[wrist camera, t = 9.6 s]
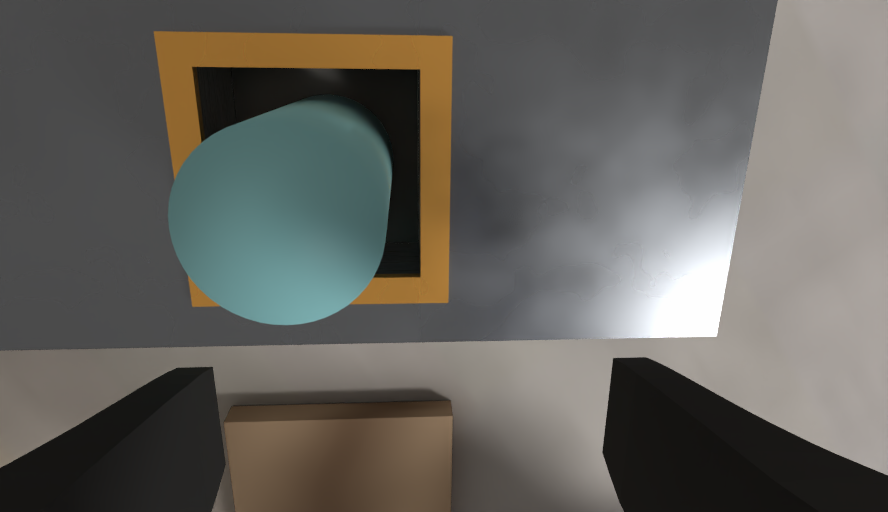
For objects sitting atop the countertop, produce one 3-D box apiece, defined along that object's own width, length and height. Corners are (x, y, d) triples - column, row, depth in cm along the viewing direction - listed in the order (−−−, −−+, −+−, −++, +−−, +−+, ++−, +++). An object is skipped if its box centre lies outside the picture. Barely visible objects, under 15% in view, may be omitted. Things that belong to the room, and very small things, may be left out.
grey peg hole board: (719, -5, 17) (788, -20, 14) (673, 298, 21) (721, 340, 18) (-118, -23, 16) (-246, -43, 13) (-27, 309, 19) (-111, 357, 16)
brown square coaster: (450, 400, 21) (452, 416, 20) (447, 566, 24) (449, 586, 23) (231, 406, 21) (223, 422, 20) (252, 575, 23) (246, 596, 23)
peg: (392, 94, 18) (384, 119, 10) (394, 219, 19) (387, 323, 12) (261, 93, 18) (152, 117, 10) (272, 220, 19) (183, 326, 11)
